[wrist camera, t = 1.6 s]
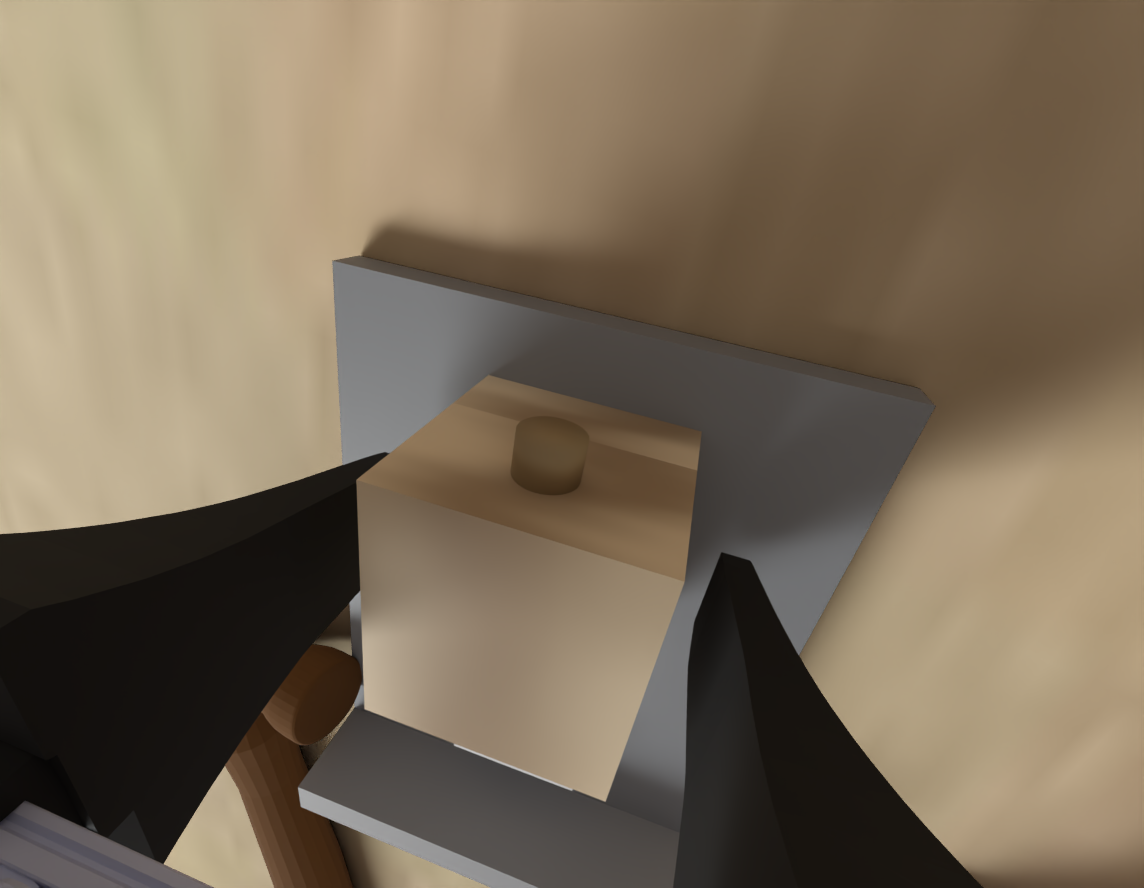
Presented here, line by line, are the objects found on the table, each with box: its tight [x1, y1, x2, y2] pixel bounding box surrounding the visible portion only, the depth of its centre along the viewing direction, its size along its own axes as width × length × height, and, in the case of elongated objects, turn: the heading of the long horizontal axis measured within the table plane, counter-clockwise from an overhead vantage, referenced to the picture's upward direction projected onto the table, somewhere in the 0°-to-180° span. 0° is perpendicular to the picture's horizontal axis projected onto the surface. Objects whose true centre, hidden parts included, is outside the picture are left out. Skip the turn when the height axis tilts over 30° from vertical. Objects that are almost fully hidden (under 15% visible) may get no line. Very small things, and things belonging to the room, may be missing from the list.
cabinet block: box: [356, 375, 702, 802], centre depth 11 cm, size 5×6×5 cm
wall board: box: [298, 256, 936, 888], centre depth 14 cm, size 13×18×4 cm
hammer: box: [225, 644, 362, 888], centre depth 26 cm, size 12×3×30 cm
